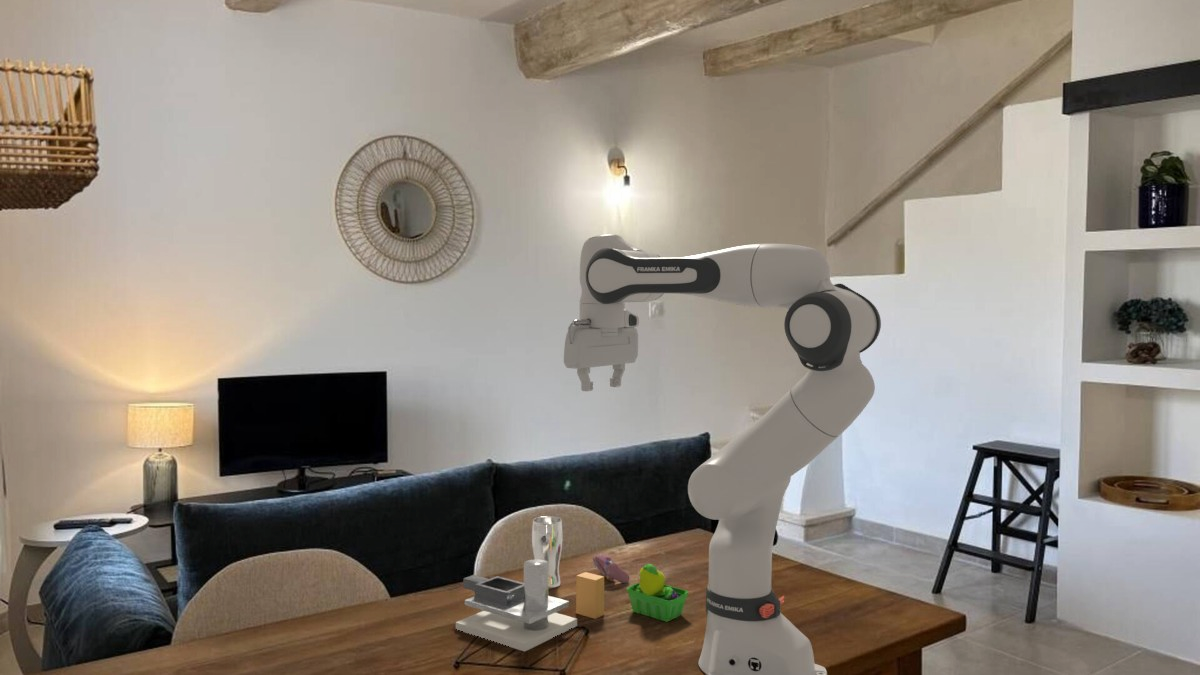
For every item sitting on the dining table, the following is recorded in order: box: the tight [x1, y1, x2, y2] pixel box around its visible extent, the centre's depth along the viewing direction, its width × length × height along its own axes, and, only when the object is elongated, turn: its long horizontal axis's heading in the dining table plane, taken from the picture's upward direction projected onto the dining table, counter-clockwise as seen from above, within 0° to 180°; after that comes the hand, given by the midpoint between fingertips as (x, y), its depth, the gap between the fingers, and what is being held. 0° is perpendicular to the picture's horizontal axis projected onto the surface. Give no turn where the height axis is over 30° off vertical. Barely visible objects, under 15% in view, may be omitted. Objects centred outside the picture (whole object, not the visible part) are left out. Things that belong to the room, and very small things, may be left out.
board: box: [455, 610, 578, 652], centre depth 179 cm, size 18×16×2 cm
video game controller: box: [592, 552, 631, 584], centre depth 209 cm, size 10×5×7 cm, turn 25°
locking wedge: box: [575, 571, 605, 620], centre depth 187 cm, size 5×3×8 cm, turn 54°
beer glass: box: [531, 515, 564, 590], centre depth 205 cm, size 7×7×15 cm
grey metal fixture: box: [462, 559, 570, 631], centre depth 180 cm, size 22×12×12 cm, turn 54°
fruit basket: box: [626, 563, 689, 623], centre depth 186 cm, size 11×9×11 cm
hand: (601, 388), depth 177 cm, fingers open, 8 cm apart
